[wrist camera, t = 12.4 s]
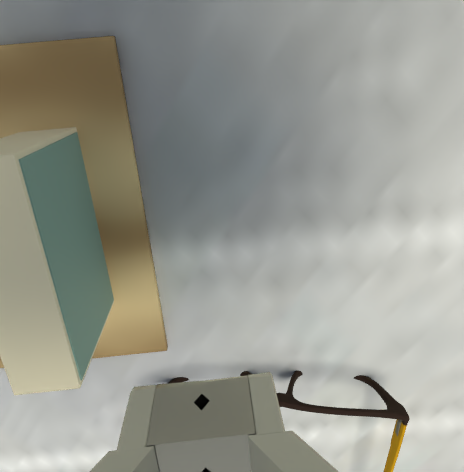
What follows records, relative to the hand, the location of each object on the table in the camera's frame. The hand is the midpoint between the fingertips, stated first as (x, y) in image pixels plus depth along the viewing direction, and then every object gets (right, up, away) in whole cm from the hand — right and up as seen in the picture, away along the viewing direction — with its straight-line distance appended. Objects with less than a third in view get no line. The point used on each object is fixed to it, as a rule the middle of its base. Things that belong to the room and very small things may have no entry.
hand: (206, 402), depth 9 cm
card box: (-7, +4, +11) cm, 14 cm away
